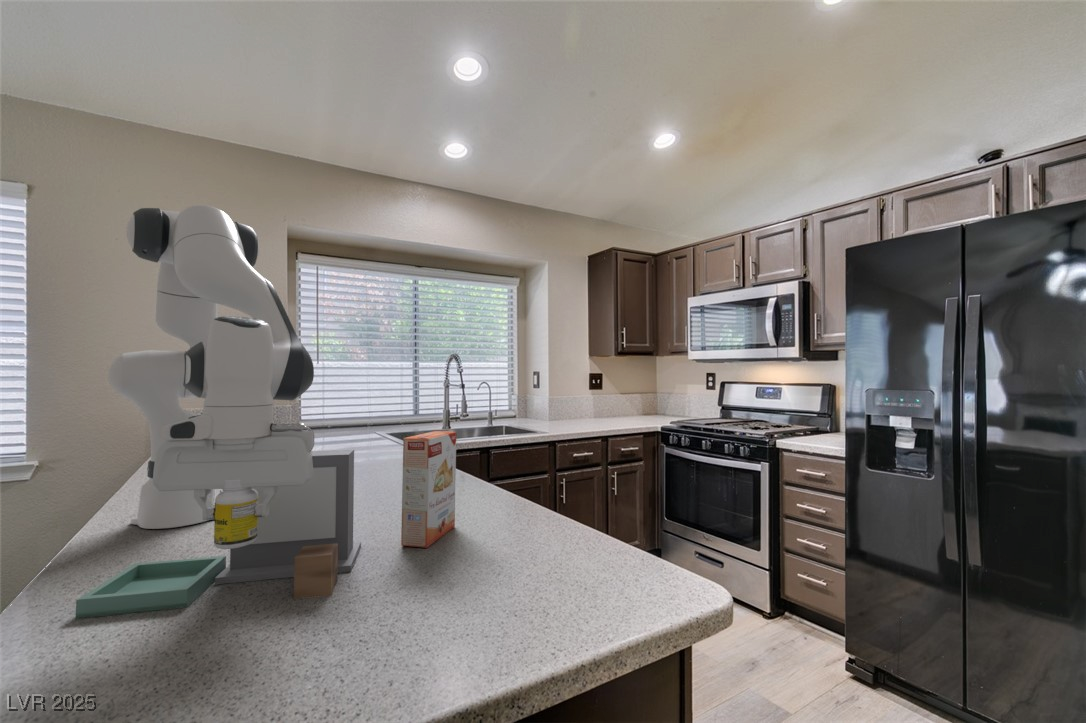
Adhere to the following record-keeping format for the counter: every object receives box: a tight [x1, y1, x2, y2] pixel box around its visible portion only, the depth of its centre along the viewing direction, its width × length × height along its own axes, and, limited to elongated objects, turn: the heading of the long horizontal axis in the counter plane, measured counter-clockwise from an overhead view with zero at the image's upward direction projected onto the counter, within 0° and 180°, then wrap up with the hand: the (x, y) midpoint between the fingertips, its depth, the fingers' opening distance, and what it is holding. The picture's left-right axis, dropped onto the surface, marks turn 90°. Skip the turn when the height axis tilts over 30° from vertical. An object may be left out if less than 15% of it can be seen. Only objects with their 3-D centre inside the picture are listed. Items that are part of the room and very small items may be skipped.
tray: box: [75, 555, 227, 620], centre depth 71 cm, size 13×13×2 cm
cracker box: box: [400, 430, 457, 549], centre depth 96 cm, size 14×6×21 cm, turn 168°
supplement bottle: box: [213, 480, 258, 550], centre depth 70 cm, size 5×5×10 cm
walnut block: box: [293, 543, 338, 600], centre depth 71 cm, size 5×5×6 cm
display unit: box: [214, 449, 362, 585], centre depth 82 cm, size 12×20×19 cm, turn 104°
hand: (236, 517), depth 70 cm, fingers closed on supplement bottle, 5 cm apart
